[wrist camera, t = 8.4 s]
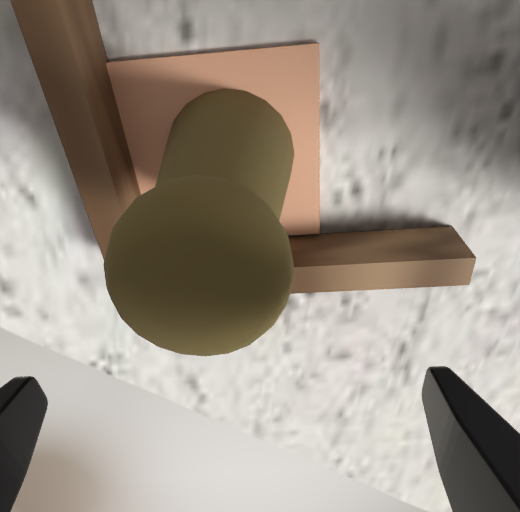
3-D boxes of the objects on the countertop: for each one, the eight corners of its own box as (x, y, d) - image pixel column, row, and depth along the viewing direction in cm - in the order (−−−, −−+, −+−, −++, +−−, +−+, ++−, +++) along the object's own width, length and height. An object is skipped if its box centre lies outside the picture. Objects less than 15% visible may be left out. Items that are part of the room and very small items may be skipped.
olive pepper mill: (156, 91, 18) (28, 202, 8) (294, 84, 17) (317, 192, 8) (178, 214, 21) (104, 389, 12) (294, 210, 21) (311, 387, 11)
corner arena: (535, -179, 13) (598, -219, 10) (446, 251, 22) (469, 285, 20) (16, -114, 14) (-39, -137, 12) (135, 268, 23) (119, 301, 21)
